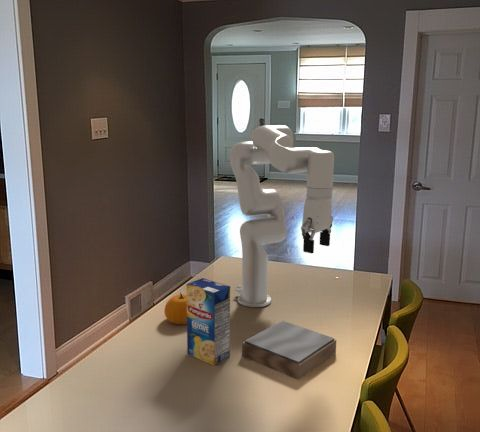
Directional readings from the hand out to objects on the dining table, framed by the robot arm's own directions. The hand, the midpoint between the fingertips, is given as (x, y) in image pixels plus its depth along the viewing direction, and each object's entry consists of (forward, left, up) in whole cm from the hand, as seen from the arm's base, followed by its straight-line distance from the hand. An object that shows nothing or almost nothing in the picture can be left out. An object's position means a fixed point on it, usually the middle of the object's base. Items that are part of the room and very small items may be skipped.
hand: (316, 248), depth 155 cm
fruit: (-43, -15, -31) cm, 55 cm away
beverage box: (-19, -27, -31) cm, 45 cm away
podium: (-1, -11, -31) cm, 33 cm away
